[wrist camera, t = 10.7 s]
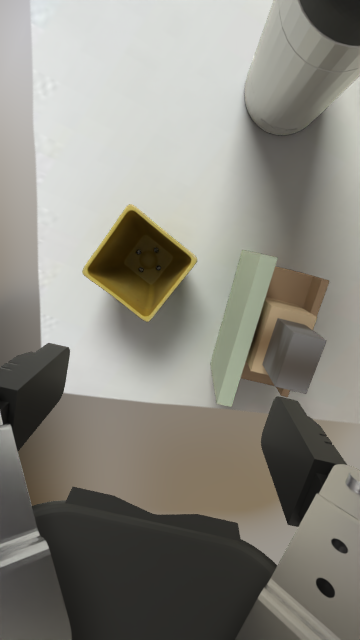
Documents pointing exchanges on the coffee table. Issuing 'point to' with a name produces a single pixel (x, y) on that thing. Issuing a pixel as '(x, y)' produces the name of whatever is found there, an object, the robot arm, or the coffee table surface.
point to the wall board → (256, 317)
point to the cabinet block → (285, 345)
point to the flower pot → (139, 263)
